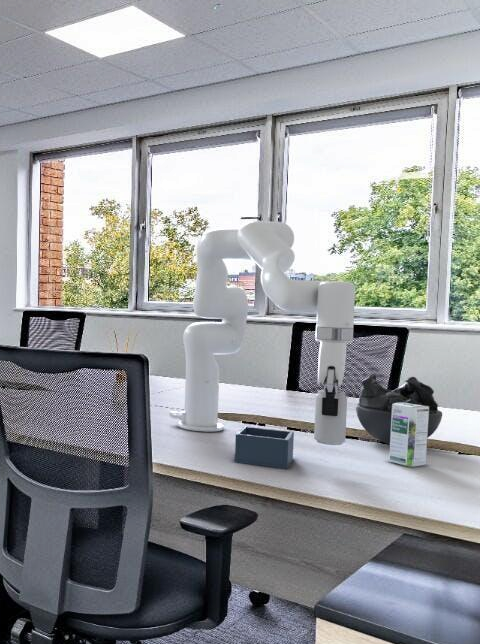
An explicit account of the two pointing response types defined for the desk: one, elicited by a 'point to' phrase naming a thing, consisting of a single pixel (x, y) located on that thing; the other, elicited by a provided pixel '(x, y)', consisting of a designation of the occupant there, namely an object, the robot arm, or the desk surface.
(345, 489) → the desk surface
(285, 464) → the desk bin
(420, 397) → the bowl of black rocks
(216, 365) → the robot arm
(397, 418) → the syrup box
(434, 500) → the desk surface
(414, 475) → the desk surface
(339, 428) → the beverage can
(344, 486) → the desk surface
